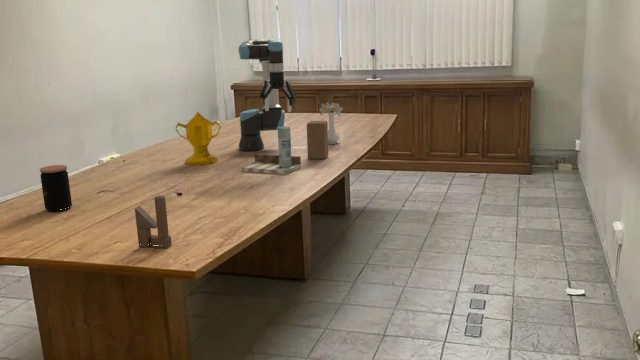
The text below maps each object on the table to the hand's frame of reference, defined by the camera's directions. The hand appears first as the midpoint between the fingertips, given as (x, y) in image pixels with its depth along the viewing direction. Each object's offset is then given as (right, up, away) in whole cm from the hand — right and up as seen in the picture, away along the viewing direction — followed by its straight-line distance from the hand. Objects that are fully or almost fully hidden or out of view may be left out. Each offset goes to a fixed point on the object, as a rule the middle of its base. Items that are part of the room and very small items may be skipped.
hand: (278, 111), depth 342 cm
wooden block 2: (-35, -60, -120) cm, 139 cm away
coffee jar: (-88, -49, -71) cm, 124 cm away
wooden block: (+21, -25, +13) cm, 35 cm away
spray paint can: (+5, -30, -15) cm, 34 cm away
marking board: (-3, -31, -12) cm, 34 cm away
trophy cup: (-43, -27, +12) cm, 52 cm away
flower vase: (+30, -14, +54) cm, 63 cm away
